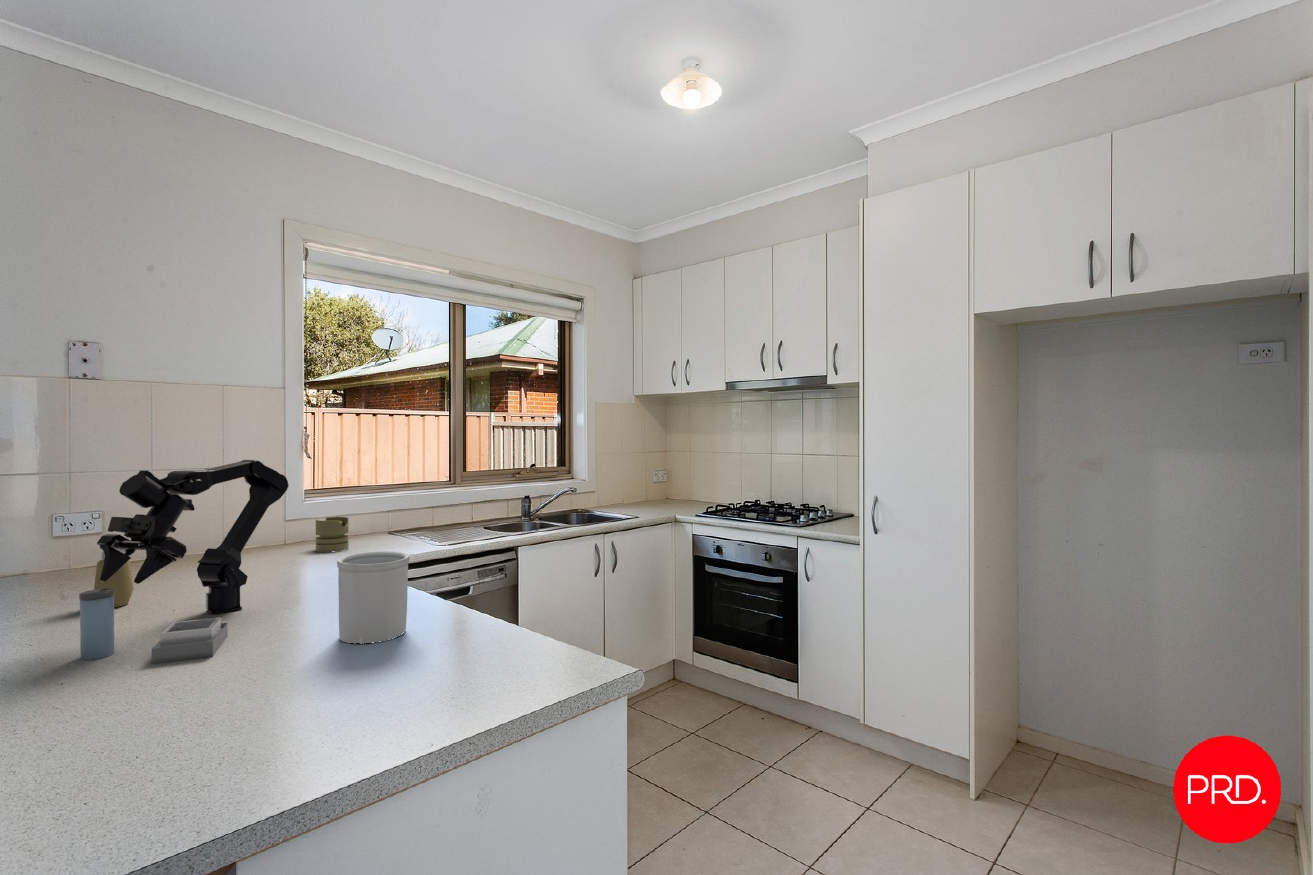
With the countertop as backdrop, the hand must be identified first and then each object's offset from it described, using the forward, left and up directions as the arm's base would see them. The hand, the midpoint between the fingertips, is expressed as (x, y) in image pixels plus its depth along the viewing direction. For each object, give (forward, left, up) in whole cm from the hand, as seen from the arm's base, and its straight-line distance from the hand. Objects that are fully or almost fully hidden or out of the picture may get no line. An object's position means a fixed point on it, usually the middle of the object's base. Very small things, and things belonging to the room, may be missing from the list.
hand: (119, 581), depth 136 cm
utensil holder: (-41, +33, -13) cm, 55 cm away
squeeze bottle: (-1, -39, -13) cm, 41 cm away
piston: (-68, -84, -13) cm, 109 cm away
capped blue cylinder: (+4, +7, -13) cm, 15 cm away
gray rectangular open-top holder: (-11, +16, -13) cm, 23 cm away
